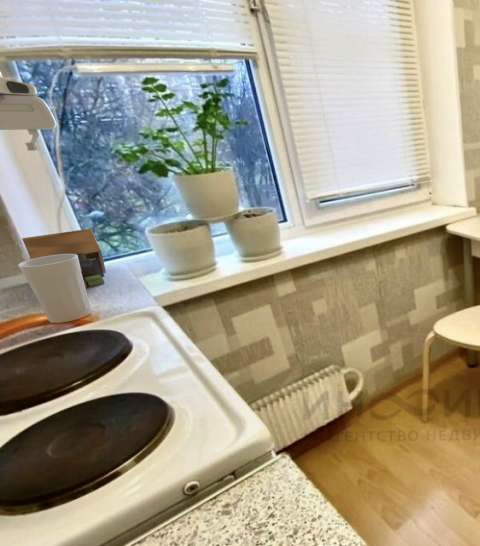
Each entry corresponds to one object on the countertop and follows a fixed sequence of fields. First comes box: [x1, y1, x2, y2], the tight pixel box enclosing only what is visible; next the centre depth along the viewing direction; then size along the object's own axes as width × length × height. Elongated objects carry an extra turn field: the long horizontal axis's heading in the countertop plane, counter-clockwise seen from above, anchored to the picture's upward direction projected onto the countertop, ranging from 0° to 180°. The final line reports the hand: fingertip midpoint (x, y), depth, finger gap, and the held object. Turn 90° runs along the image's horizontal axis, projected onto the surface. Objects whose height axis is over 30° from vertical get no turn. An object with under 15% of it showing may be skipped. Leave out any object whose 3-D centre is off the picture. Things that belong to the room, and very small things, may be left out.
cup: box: [17, 254, 93, 324], centre depth 83 cm, size 8×8×12 cm
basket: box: [21, 228, 107, 274], centre depth 97 cm, size 11×10×10 cm
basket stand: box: [28, 256, 105, 281], centre depth 105 cm, size 11×10×6 cm
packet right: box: [84, 275, 105, 288], centre depth 103 cm, size 3×5×1 cm, turn 51°
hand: (2, 151), depth 94 cm, fingers open, 8 cm apart
